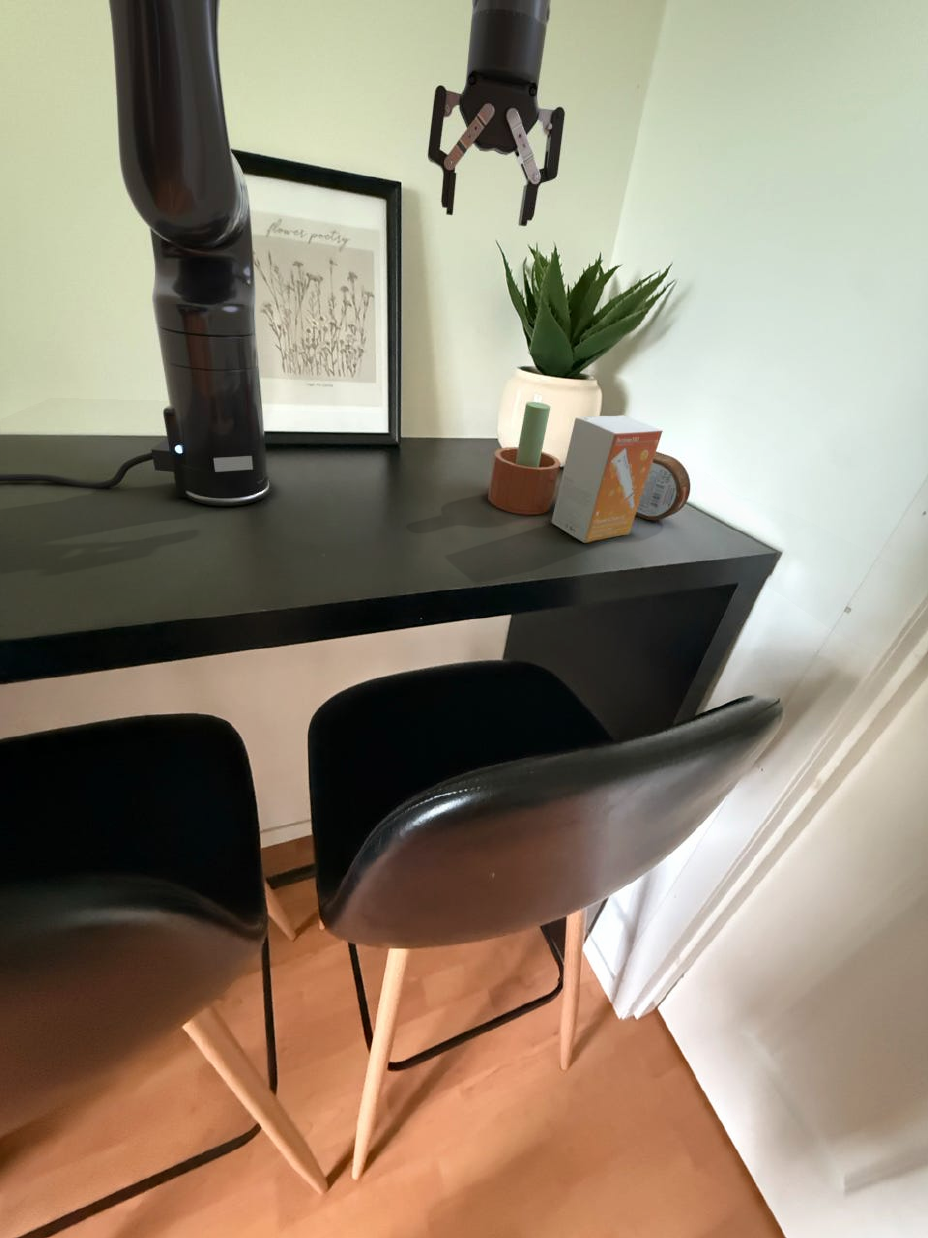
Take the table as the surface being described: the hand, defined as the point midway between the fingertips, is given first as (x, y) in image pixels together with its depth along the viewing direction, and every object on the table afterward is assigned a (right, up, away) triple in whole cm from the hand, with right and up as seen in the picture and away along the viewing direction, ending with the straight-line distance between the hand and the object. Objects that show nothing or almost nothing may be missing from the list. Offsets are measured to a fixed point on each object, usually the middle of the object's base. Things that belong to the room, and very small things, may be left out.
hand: (485, 220), depth 64 cm
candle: (+5, -30, +10) cm, 32 cm away
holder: (+5, -30, +10) cm, 32 cm away
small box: (+13, -35, +6) cm, 38 cm away
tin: (+20, -31, +13) cm, 39 cm away
